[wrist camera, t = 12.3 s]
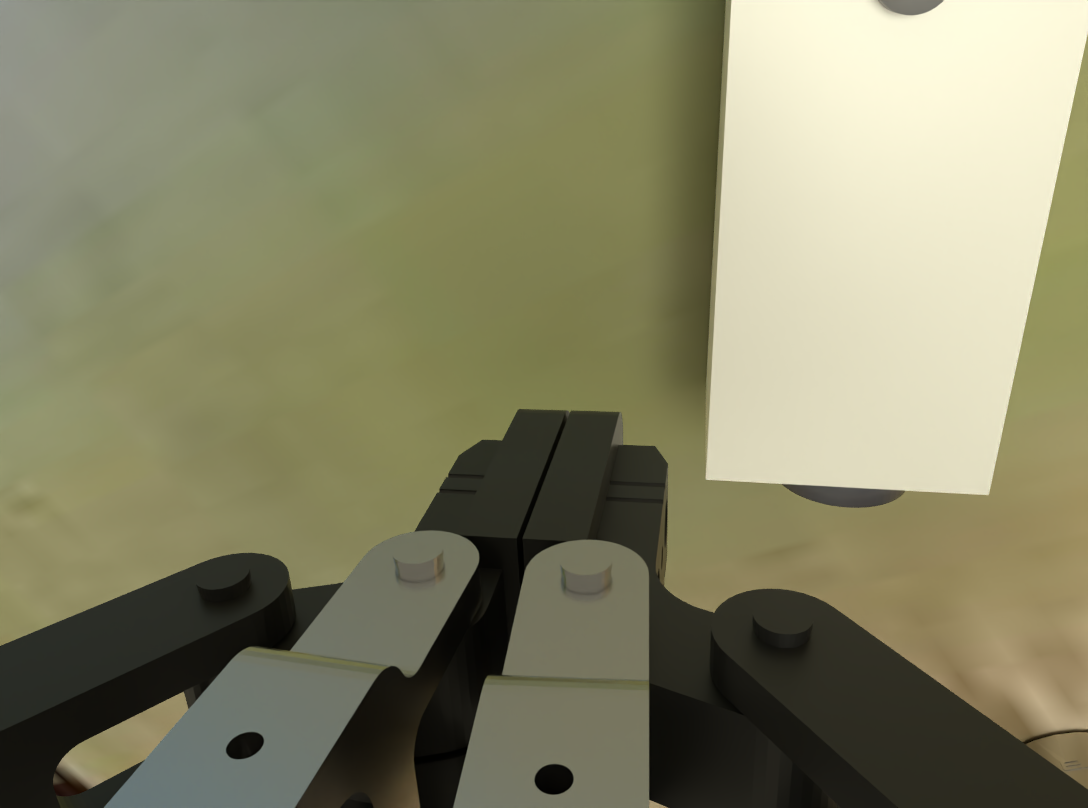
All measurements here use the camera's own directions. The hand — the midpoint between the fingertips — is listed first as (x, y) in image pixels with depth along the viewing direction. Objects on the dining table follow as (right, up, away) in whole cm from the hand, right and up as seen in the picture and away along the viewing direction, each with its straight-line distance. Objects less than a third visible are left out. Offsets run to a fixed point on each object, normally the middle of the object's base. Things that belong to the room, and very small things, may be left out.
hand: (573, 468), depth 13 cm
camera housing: (+11, +10, +20) cm, 25 cm away
